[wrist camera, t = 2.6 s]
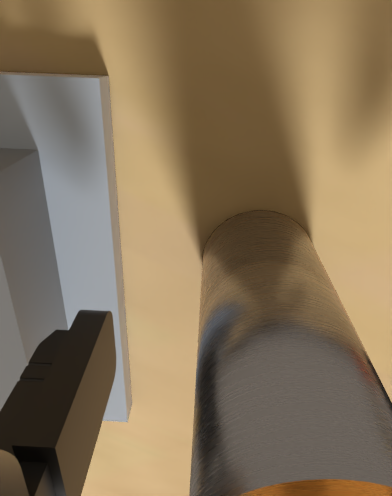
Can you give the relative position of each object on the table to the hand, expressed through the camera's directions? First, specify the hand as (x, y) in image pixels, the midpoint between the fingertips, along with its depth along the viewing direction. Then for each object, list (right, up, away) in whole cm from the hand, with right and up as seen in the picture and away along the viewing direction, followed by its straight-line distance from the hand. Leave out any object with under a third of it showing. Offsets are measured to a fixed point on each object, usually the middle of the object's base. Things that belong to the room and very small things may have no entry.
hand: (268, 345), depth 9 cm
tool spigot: (0, +2, +4) cm, 5 cm away
